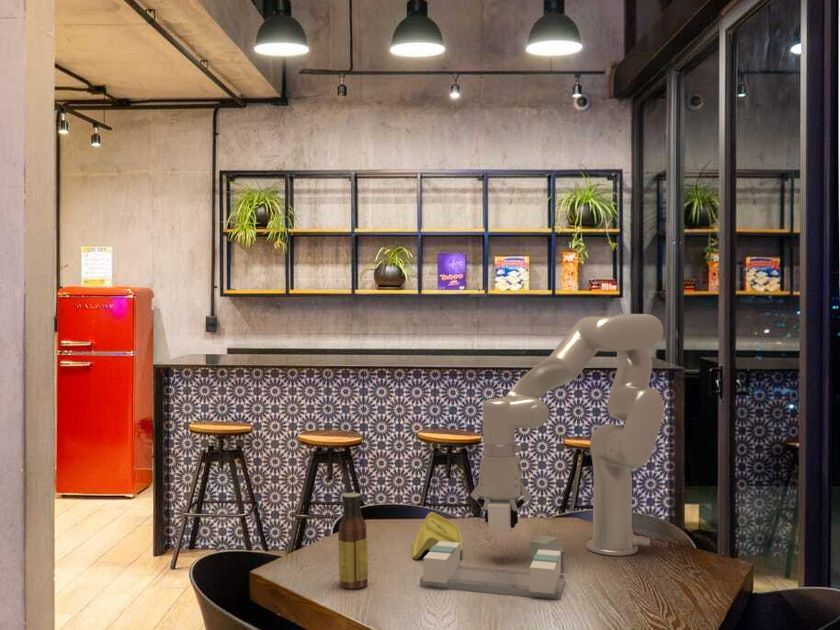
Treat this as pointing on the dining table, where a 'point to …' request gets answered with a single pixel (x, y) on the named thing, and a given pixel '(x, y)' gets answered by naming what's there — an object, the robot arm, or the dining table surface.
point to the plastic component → (435, 534)
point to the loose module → (499, 517)
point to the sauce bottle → (352, 544)
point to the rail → (494, 582)
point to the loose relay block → (553, 548)
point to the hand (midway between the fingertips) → (501, 525)
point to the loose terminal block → (541, 540)
